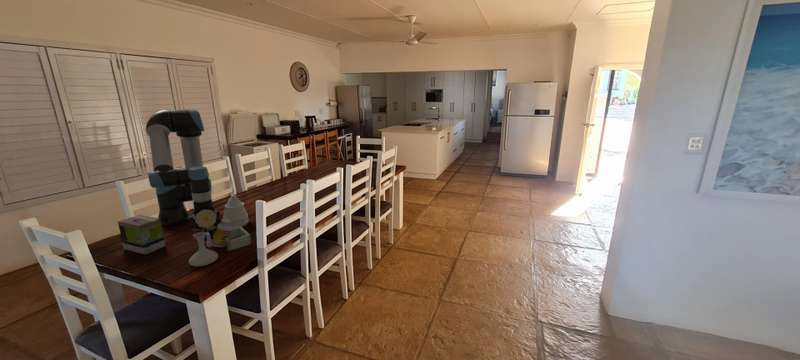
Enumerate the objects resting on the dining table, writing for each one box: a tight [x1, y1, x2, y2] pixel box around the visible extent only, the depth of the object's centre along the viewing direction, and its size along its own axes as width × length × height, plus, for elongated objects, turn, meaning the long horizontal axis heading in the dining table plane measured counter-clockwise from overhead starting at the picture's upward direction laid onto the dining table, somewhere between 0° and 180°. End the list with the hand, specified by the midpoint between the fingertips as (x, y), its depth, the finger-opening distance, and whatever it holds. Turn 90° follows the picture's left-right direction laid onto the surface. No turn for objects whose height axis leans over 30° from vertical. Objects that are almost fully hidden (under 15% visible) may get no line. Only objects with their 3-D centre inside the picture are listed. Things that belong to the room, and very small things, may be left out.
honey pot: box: [222, 194, 250, 228], centre depth 178 cm, size 13×13×18 cm
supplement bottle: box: [211, 218, 232, 248], centre depth 153 cm, size 7×7×13 cm
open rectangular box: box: [226, 226, 252, 252], centre depth 158 cm, size 14×11×6 cm
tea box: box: [117, 214, 166, 255], centre depth 149 cm, size 15×10×15 cm
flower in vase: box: [188, 210, 219, 267], centre depth 137 cm, size 13×11×25 cm
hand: (209, 245), depth 150 cm, fingers closed
